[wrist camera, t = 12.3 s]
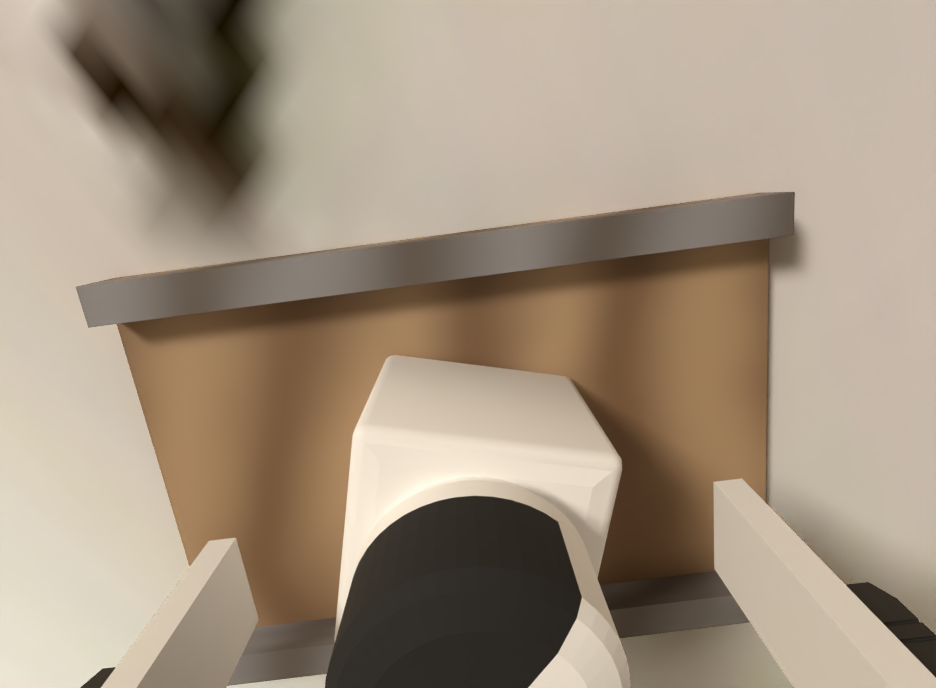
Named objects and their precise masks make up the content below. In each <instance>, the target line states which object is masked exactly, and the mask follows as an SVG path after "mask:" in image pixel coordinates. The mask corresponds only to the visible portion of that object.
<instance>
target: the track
mask: <svg viewBox="0 0 936 688" xmlns="http://www.w3.org/2000/svg"><path fill="white" fill-rule="evenodd" d="M794 197H795V192H774V193H755V194H748V195H740V196H732V197H725V198H717V199H710V200H702V201H695V202H687V203H680V204H672V205H664V206H657V207H649V208H642V209H634V210H627V211H619V212H611V213H604V214H596V215H589V216H581V217H574V218H566V219H559V220H551V221H543V222H536V223H528V224H521V225H513V226H506V227H498V228H490V229H483V230H475V231H468V232H460V233H453V234H445V235H437V236H430V237H422V238H415V239H407V240H400V241H392V242H385V243H377V244H369V245H362V246H354V247H347V248H339V249H332V250H324V251H316V252H309V253H301V254H294V255H286V256H279V257H271V258H264V259H256V260H248V261H241V262H233V263H226V264H218V265H211V266H203V267H195V268H188V269H180V270H173V271H165V272H158V273H150V274H143V275H135V276H127V277H120V278H113V279H109V280H104V281H100V282H95V283H91V284H87V285H82V286H78V287H76V289H77V293H78V296H79V299H80V302H81V305H82V309H83V312H84V315H85V318H86V321H87V324H88V328H89V327H96V326H104V325H112V324H117V326H118V330H119V333H120V336H121V340H122V343H123V346H124V350H125V353H126V356H127V360H128V363H129V366H130V370H131V373H132V376H133V380H134V383H135V386H136V390H137V393H138V396H139V400H140V403H141V406H142V410H143V413H144V416H145V420H146V423H147V426H148V430H149V433H150V436H151V440H152V443H153V446H154V449H155V453H156V456H157V459H158V463H159V466H160V469H161V473H162V476H163V479H164V483H165V486H166V489H167V493H168V496H169V499H170V503H171V506H172V509H173V513H174V516H175V519H176V523H177V526H178V529H179V533H180V536H181V539H182V543H183V546H184V549H185V553H186V556H187V559H188V563H189V566H191V564H192V563H193V562H194V560H195V559H196V558H197V556H198V555H199V554H200V552H201V551H202V549H203V548H204V547H205V545H206V544H207V543H208V541H211V540H220V539H228V538H236V539H237V543H238V547H239V550H240V554H241V557H242V561H243V565H244V568H245V572H246V575H247V579H248V583H249V586H250V590H251V593H252V597H253V601H254V604H255V608H256V611H257V615H258V619H259V620H258V622H257V625H256V627H255V629H254V631H253V633H252V635H251V637H250V639H249V641H248V643H247V645H246V647H245V649H244V652H243V654H242V656H241V658H240V660H239V662H238V664H237V666H236V668H235V670H234V672H233V674H232V676H231V679H230V681H229V683H228V685H227V686H229V685H238V684H246V683H254V682H262V681H270V680H279V679H287V678H295V677H303V676H312V675H320V674H327V671H328V667H329V662H330V659H331V655H332V651H333V648H334V644H335V641H334V637H335V626H336V615H337V604H338V592H339V581H340V570H341V559H342V548H343V536H344V525H345V514H346V503H347V492H348V480H349V469H350V458H351V447H352V436H353V432H354V430H355V427H356V425H357V423H358V421H359V418H360V416H361V414H362V412H363V410H364V407H365V405H366V403H367V401H368V398H369V396H370V394H371V392H372V389H373V387H374V385H375V383H376V380H377V378H378V376H379V374H380V371H381V369H382V367H383V365H384V363H385V360H386V359H387V358H388V357H389V356H392V355H400V356H408V357H416V358H424V359H432V360H440V361H448V362H456V363H464V364H472V365H480V366H488V367H496V368H504V369H512V370H520V371H528V372H536V373H545V374H553V375H561V376H566V377H568V378H570V379H571V381H572V382H573V384H574V385H575V387H576V388H577V390H578V391H579V393H580V395H581V396H582V398H583V399H584V401H585V403H586V404H587V406H588V407H589V409H590V410H591V412H592V414H593V415H594V417H595V418H596V420H597V421H598V423H599V425H600V426H601V428H602V429H603V431H604V432H605V434H606V436H607V437H608V439H609V440H610V442H611V443H612V445H613V447H614V448H615V450H616V451H617V453H618V454H619V456H620V458H621V459H622V472H621V477H620V481H619V486H618V490H617V494H616V499H615V503H614V508H613V512H612V516H611V521H610V525H609V530H608V534H607V539H606V543H605V547H604V552H603V556H602V561H601V565H600V569H599V574H598V578H597V579H598V582H599V585H600V587H601V590H602V593H603V595H604V598H605V601H606V603H607V606H608V609H609V612H610V614H611V617H612V620H613V622H614V625H615V628H616V630H617V633H618V636H619V638H624V637H632V636H641V635H649V634H657V633H665V632H673V631H682V630H690V629H698V628H706V627H715V626H723V625H731V624H739V623H747V622H750V621H749V620H748V618H747V617H746V615H745V614H744V612H743V611H742V609H741V608H740V606H739V605H738V603H737V602H736V600H735V599H734V597H733V596H732V594H731V593H730V591H729V590H728V588H727V587H726V585H725V584H724V582H723V581H722V579H721V578H720V576H719V575H718V573H717V572H716V570H715V569H714V489H713V482H716V481H725V480H733V479H743V480H744V481H745V482H746V483H747V484H748V485H749V486H750V487H751V488H752V489H753V490H754V491H755V492H756V493H757V494H758V495H759V496H760V497H761V498H762V500H763V501H764V502H765V503H766V427H767V345H768V264H769V238H775V237H783V236H791V235H794Z"/></svg>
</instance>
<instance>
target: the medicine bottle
mask: <svg viewBox="0 0 936 688" xmlns="http://www.w3.org/2000/svg"><path fill="white" fill-rule="evenodd" d="M621 472H622V459H621V458H620V456H619V454H618V453H617V451H616V450H615V448H614V447H613V445H612V443H611V442H610V440H609V439H608V437H607V436H606V434H605V432H604V431H603V429H602V428H601V426H600V425H599V423H598V421H597V420H596V418H595V417H594V415H593V414H592V412H591V410H590V409H589V407H588V406H587V404H586V403H585V401H584V399H583V398H582V396H581V395H580V393H579V391H578V390H577V388H576V387H575V385H574V384H573V382H572V381H571V379H570V378H568V377H566V376H561V375H553V374H545V373H536V372H528V371H520V370H512V369H504V368H496V367H488V366H480V365H472V364H464V363H456V362H448V361H440V360H432V359H424V358H416V357H408V356H400V355H392V356H389V357H388V358H387V359H386V360H385V363H384V365H383V367H382V369H381V371H380V374H379V376H378V378H377V380H376V383H375V385H374V387H373V389H372V392H371V394H370V396H369V398H368V401H367V403H366V405H365V407H364V410H363V412H362V414H361V416H360V418H359V421H358V423H357V425H356V427H355V430H354V432H353V436H352V447H351V458H350V469H349V480H348V492H347V503H346V514H345V525H344V536H343V548H342V559H341V570H340V581H339V592H338V604H337V615H336V626H335V637H334V641H335V644H334V648H333V651H332V655H331V659H330V662H329V667H328V671H327V676H326V683H325V688H631V685H630V671H629V667H628V662H627V658H626V655H625V652H624V649H623V647H622V644H621V641H620V638H619V636H618V633H617V630H616V628H615V625H614V622H613V620H612V617H611V614H610V612H609V609H608V606H607V603H606V601H605V598H604V595H603V593H602V590H601V587H600V585H599V582H598V579H597V578H598V574H599V569H600V565H601V561H602V556H603V552H604V547H605V543H606V539H607V534H608V530H609V525H610V521H611V516H612V512H613V508H614V503H615V499H616V494H617V490H618V486H619V481H620V477H621Z"/></svg>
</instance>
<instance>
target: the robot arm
mask: <svg viewBox="0 0 936 688" xmlns="http://www.w3.org/2000/svg"><path fill="white" fill-rule="evenodd" d="M713 489H714V569H715V570H716V572H717V573H718V575H719V576H720V578H721V579H722V581H723V582H724V584H725V585H726V587H727V588H728V590H729V591H730V593H731V594H732V596H733V597H734V599H735V600H736V602H737V603H738V605H739V606H740V608H741V609H742V611H743V612H744V614H745V615H746V617H747V618H748V620H749V621H750V623H751V624H752V626H753V627H754V629H755V630H756V632H757V633H758V635H759V636H760V638H761V640H762V641H763V643H764V644H765V646H766V647H767V649H768V650H769V652H770V653H771V655H772V656H773V658H774V659H775V661H776V662H777V664H778V665H779V667H780V668H781V670H782V671H783V673H784V674H785V676H786V677H787V679H788V680H789V682H790V683H791V685H792V686H793V688H936V635H935V634H934V633H933V632H932V631H931V630H930V629H928V628H927V627H926V626H925V625H924V624H923V623H920V622H919V621H918V618H917V617H916V616H915V615H914V614H913V613H911V612H910V611H909V610H908V609H907V608H906V607H905V606H904V605H903V604H902V603H901V602H900V601H899V600H898V599H897V598H895V597H893V596H891V595H890V594H888V593H886V592H884V591H883V590H881V589H879V588H877V587H876V586H874V585H872V584H870V583H869V582H866V583H857V584H848V585H845V584H844V583H843V582H842V581H841V580H840V579H839V578H838V577H837V576H836V575H835V574H834V573H833V572H832V570H831V569H830V568H829V567H828V566H827V565H826V564H825V563H824V562H823V561H822V560H821V559H820V558H819V557H818V556H817V555H816V554H815V553H814V552H813V551H812V550H811V549H810V548H809V547H808V546H807V545H806V544H805V543H804V542H803V541H802V540H801V539H800V538H799V537H798V536H797V534H796V533H795V532H794V531H793V530H792V529H791V528H790V527H789V526H788V525H787V524H786V523H785V522H784V521H783V520H782V519H781V518H780V517H779V516H778V515H777V514H776V513H775V512H774V511H773V510H772V509H771V508H770V507H769V506H768V505H767V504H766V503H765V502H764V501H763V500H762V498H761V497H760V496H759V495H758V494H757V493H756V492H755V491H754V490H753V489H752V488H751V487H750V486H749V485H748V484H747V483H746V482H745V481H744V480H743V479H733V480H725V481H716V482H713ZM258 620H259V619H258V615H257V611H256V608H255V604H254V601H253V597H252V593H251V590H250V586H249V583H248V579H247V575H246V572H245V568H244V565H243V561H242V557H241V554H240V550H239V547H238V543H237V539H236V538H228V539H220V540H211V541H208V543H207V544H206V545H205V547H204V548H203V549H202V551H201V552H200V554H199V555H198V556H197V558H196V559H195V560H194V562H193V563H192V564H191V566H190V567H189V568H188V570H187V571H186V573H185V574H184V575H183V577H182V578H181V579H180V581H179V582H178V583H177V585H176V586H175V588H174V589H173V590H172V592H171V593H170V594H169V596H168V597H167V598H166V600H165V601H164V602H163V604H162V605H161V607H160V608H159V609H158V611H157V612H156V613H155V615H154V616H153V617H152V619H151V620H150V622H149V623H148V624H147V626H146V627H145V628H144V630H143V631H142V632H141V634H140V635H139V637H138V638H137V639H136V641H135V642H134V643H133V645H132V646H131V647H130V649H129V650H128V651H127V653H126V654H125V656H124V657H123V658H122V660H121V661H120V662H119V664H118V665H117V666H116V667H114V668H105V669H102V670H101V671H99V672H98V673H97V674H96V675H95V676H94V677H92V678H91V679H90V680H89V681H88V682H87V683H85V684H84V685H83V686H82V687H81V688H226V687H227V685H228V683H229V681H230V679H231V676H232V674H233V672H234V670H235V668H236V666H237V664H238V662H239V660H240V658H241V656H242V654H243V652H244V649H245V647H246V645H247V643H248V641H249V639H250V637H251V635H252V633H253V631H254V629H255V627H256V625H257V622H258Z"/></svg>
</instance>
